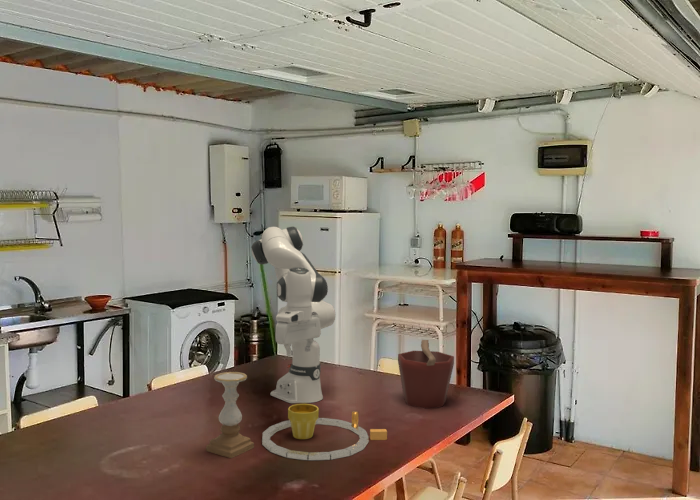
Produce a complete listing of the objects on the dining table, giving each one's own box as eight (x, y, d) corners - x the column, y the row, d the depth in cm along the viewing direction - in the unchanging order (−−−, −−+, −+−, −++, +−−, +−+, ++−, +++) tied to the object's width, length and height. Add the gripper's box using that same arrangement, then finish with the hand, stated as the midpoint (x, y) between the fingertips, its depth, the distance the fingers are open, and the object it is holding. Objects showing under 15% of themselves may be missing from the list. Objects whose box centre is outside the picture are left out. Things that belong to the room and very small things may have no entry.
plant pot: (313, 443, 207) (314, 414, 206) (283, 440, 209) (284, 411, 208) (321, 432, 217) (322, 404, 216) (292, 429, 219) (293, 402, 218)
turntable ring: (240, 441, 206) (240, 422, 206) (310, 415, 234) (310, 398, 233) (321, 469, 185) (321, 448, 184) (388, 437, 212) (388, 418, 212)
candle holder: (231, 459, 192) (231, 382, 191) (205, 451, 198) (205, 376, 196) (254, 448, 201) (255, 374, 200) (229, 441, 207) (229, 369, 206)
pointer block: (370, 440, 210) (370, 431, 210) (369, 437, 212) (369, 429, 212) (386, 440, 210) (387, 431, 210) (385, 437, 213) (386, 429, 212)
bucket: (445, 414, 239) (446, 349, 238) (389, 407, 246) (390, 344, 245) (455, 396, 262) (457, 337, 261) (404, 390, 269) (405, 333, 268)
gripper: (311, 310, 230) (311, 347, 230) (272, 316, 213) (272, 356, 214) (324, 311, 226) (324, 350, 226) (286, 318, 210) (285, 359, 210)
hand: (298, 353), depth 220 cm, fingers open, 8 cm apart
